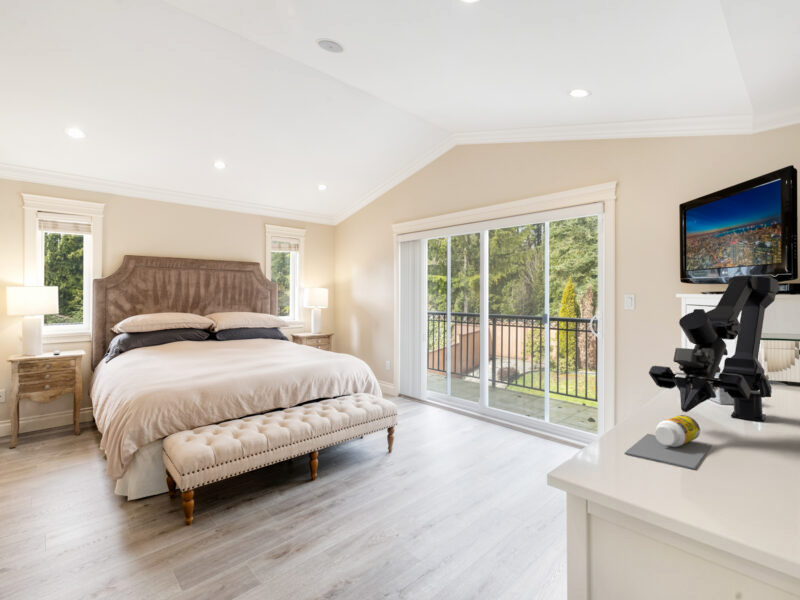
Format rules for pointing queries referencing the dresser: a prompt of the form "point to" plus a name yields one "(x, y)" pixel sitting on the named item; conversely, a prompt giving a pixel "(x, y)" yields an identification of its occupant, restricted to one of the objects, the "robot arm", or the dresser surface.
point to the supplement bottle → (677, 431)
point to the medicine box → (722, 395)
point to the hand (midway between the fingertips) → (683, 410)
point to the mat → (669, 452)
